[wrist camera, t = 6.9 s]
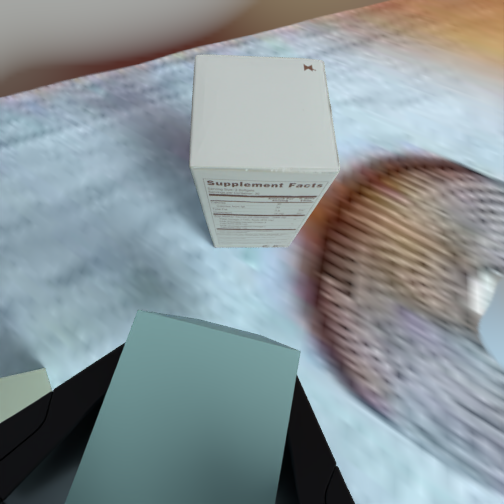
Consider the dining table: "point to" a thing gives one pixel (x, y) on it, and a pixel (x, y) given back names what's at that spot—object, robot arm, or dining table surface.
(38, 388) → the sage post
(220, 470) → the teal post
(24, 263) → the dining table surface
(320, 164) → the supplement box
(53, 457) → the robot arm
